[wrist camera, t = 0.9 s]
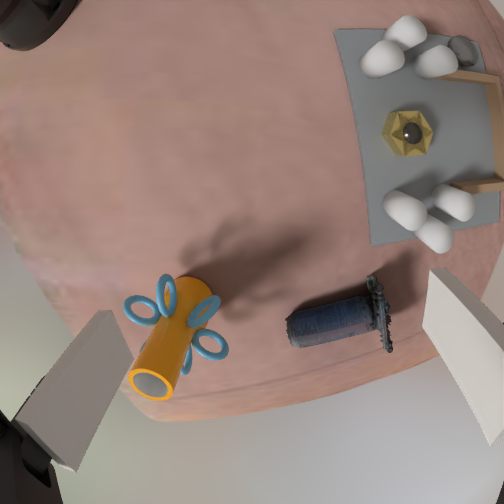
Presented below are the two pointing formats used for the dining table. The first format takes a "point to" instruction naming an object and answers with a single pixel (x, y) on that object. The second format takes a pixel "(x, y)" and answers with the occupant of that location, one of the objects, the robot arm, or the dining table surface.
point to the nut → (407, 133)
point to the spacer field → (443, 139)
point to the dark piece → (342, 319)
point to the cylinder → (173, 334)
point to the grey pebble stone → (463, 51)
